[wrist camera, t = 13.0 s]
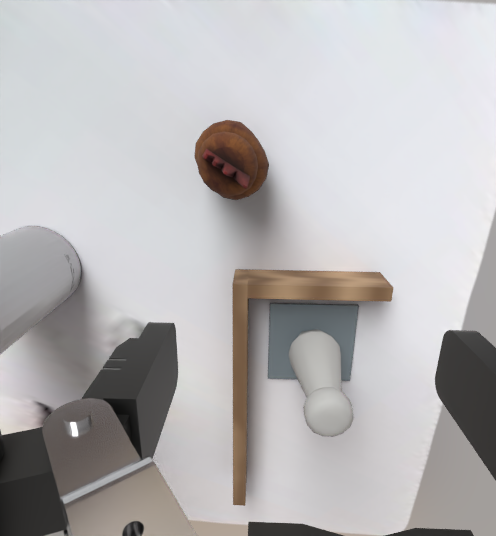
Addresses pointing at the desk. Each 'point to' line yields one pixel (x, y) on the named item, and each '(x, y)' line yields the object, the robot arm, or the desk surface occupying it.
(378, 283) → the wooden l-shaped bracket
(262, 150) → the wooden figurine
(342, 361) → the pad
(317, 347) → the salt shaker
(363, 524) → the desk surface
